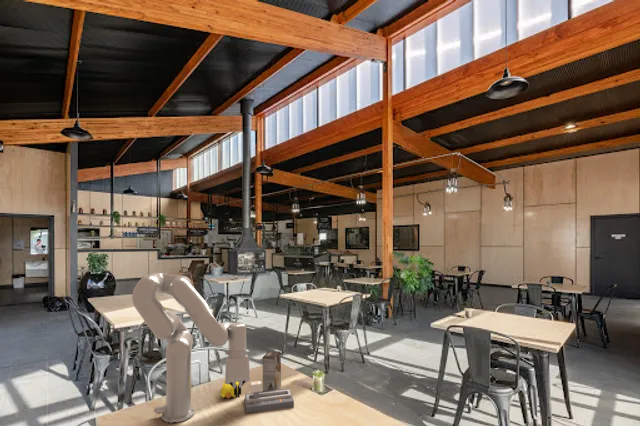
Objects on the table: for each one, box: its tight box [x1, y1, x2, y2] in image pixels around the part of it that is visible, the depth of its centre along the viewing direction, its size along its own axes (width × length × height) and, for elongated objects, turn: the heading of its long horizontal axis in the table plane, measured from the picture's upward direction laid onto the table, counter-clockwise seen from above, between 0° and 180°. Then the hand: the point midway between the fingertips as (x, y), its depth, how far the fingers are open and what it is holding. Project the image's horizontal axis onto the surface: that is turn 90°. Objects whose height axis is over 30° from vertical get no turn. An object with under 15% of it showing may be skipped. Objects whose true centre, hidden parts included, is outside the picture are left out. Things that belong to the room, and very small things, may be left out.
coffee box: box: [262, 350, 282, 391], centre depth 167 cm, size 9×6×16 cm
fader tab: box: [250, 380, 263, 399], centre depth 150 cm, size 4×3×6 cm
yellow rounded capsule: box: [220, 380, 239, 399], centre depth 164 cm, size 18×7×8 cm
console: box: [244, 387, 295, 414], centre depth 152 cm, size 20×13×3 cm, turn 104°
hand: (237, 396), depth 148 cm, fingers closed
